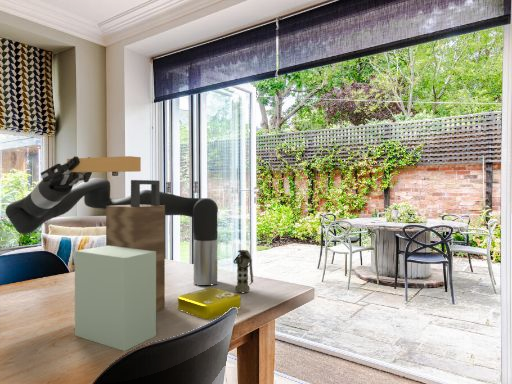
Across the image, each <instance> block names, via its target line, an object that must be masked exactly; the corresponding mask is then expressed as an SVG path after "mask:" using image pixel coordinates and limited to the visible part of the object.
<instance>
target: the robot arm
mask: <svg viewBox="0 0 512 384" xmlns="http://www.w3.org/2000/svg"><path fill="white" fill-rule="evenodd" d="M78 158H79V156H73V157H72V158H69V159H70V160H69V161H68V162H67V161H66V162H64V163H63V164H61V163H56V164H54V165H53V166H51V167H49V168H47V169H46V170H44V171H42V172H40V176H41V181H39V183H38V184H37V185H35V187H34V188H33V190H32V191H30V192H29V194H27V195H26V196H25V197H23V198H21V199H20V200H16V201H13V202H10V203H9V204H8V205H7V206H6V207H5V215H6V217H7V218H8V220H9V221H10V223H11V224H12V226H13V227H14V229H15V230H16V231H17V232H18V234H23V235H29V234H31V233H33V232H34V231H36V230H37V229H38V228H40V227H41V226H42V225H43V224H45V223H46V222H48V221H50V220H51V219H54V218H57V217H60V216H62V215H64V214H67V213H68V212H69V211H70V210H71V209H73V208H74V207H75V206H76V205H77V203H79V201H80V200H81V199H83V201H84V205H85V206H86V207H88V208H93V209H99V210H100V209H101V210H106V206H115V205H131V194H130V195H128V196H125V197H122V198H111V183H110V181H109V180H108V179H106V178H103V177H92V178H91V176H92V174H93V172H71V170H73V169H74V168H75V167H76V166H77V165H78V164H79V163H80V161H79V159H78ZM87 158H91V157H87ZM81 181H83V182H81ZM79 182H81V183H79ZM140 204H141V205H151V189H143V190H140ZM160 205H165V216H185V217H191V218H192V232H193V284H194V285H195V284H197V285H196V286H198V285H211V284H217V285H218V236H219V235H218V234H219V233H218V213H219V208H218V207H219V206H218V204H217V202H216V201H214V199H212V198H209V197H207V198H206V197H204V198H202V197H187V196H186V197H185V196H180V195H176V194H172V193H168V192H164V191H160ZM211 286H212V285H211Z"/></svg>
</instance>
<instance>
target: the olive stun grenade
mask: <svg viewBox="0 0 512 384" xmlns="http://www.w3.org/2000/svg"><path fill="white" fill-rule="evenodd" d="M237 253H239V254H238V255H236V257H235V258H234V259H233V263H234V264H235V265H236V267H237V269H236V270H237V271H236V273H237V276H236V281H237V282H236V286H235V292H236V291H237V293H238V292H247V291H248V292H250V291H249V290H251V289H250V288H251V287H250V285H252V283H254V274H253V273H254V271H253V259H252V255H251V254H250V252H249V250H248V249H240V250H238V251H237ZM248 274H250V283H249V275H248ZM248 292H247V293H248Z"/></svg>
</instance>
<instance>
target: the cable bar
mask: <svg viewBox="0 0 512 384" xmlns="http://www.w3.org/2000/svg"><path fill="white" fill-rule="evenodd" d="M70 159H71V158H66V163H67V162H68V161H69V160H70ZM78 159H79V161H80V163H79V164H78V165H77V166H76V167H75V168H74V169H73V170H71V172H92V173H120V172H122V173H125V172H126V173H127V172H128V173H129V172H141V171H142V170H141V168H142V167H141V166H142V165H141V162H142V161H141V159H142V158H141V157H139V156H132V155H130V156H129V155H127V156H126V155H125V156H104V157H102V156H101V157H90V158H88V157H80V158H79V157H78Z"/></svg>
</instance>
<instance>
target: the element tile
mask: <svg viewBox="0 0 512 384" xmlns="http://www.w3.org/2000/svg"><path fill="white" fill-rule="evenodd" d="M241 297H242V296H241V294H240V293H235V292H231V291H226V290H223V289H219V288H216V287H212V286H208V287H206V288H203V289H199V290H198V289H197V290H195V291H191V292H187V293H185V294H184V293H183V294H181V295H180V294H179V295H178V297H177V310H178V309H179V310H178V311H180V310H183V311H185V312H184V313H186V312H188V313H190V314H189V315H191V314H193V315H192V316H194V315H195V316H194V317H197V316H198V317H197V318H200V317H201V318H200V319H203V318H204V319H203V320H212V319H213V320H214V319H215V318H218V317H221V316H223V314H224V313H225V312H227V311H228V310H229V309H230V308H232V307H237V308H239V307H240V306H242V305H241V301H242V299H241ZM183 311H182V312H183ZM188 313H187V314H188ZM224 315H225V314H224Z"/></svg>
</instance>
